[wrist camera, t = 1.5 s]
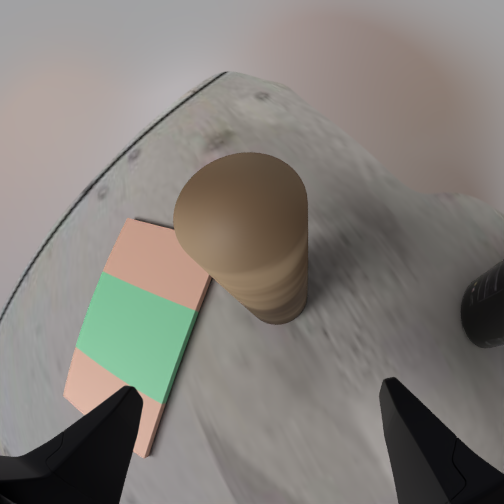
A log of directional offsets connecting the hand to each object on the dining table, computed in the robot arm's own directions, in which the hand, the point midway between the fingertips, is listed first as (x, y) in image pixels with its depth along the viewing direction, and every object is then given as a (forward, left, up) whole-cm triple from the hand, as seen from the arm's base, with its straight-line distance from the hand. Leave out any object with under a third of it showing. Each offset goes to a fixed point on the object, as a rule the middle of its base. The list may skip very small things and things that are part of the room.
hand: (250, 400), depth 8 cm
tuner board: (-2, +14, -13) cm, 19 cm away
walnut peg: (+6, +2, -13) cm, 14 cm away
